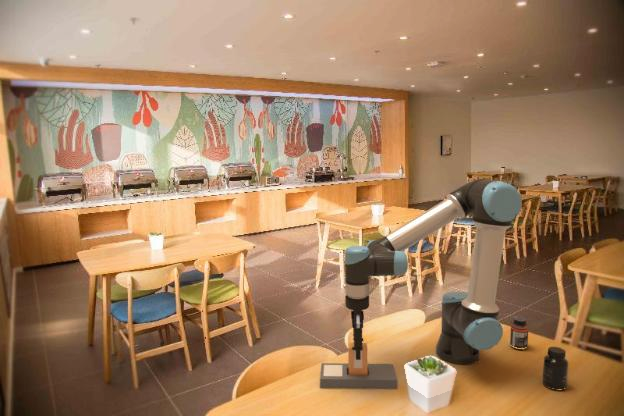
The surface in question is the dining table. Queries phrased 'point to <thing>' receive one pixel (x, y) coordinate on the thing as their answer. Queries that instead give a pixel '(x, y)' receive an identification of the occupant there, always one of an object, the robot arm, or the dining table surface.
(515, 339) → the supplement bottle
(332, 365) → the block
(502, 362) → the dining table surface
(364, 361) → the plug
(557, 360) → the supplement bottle
